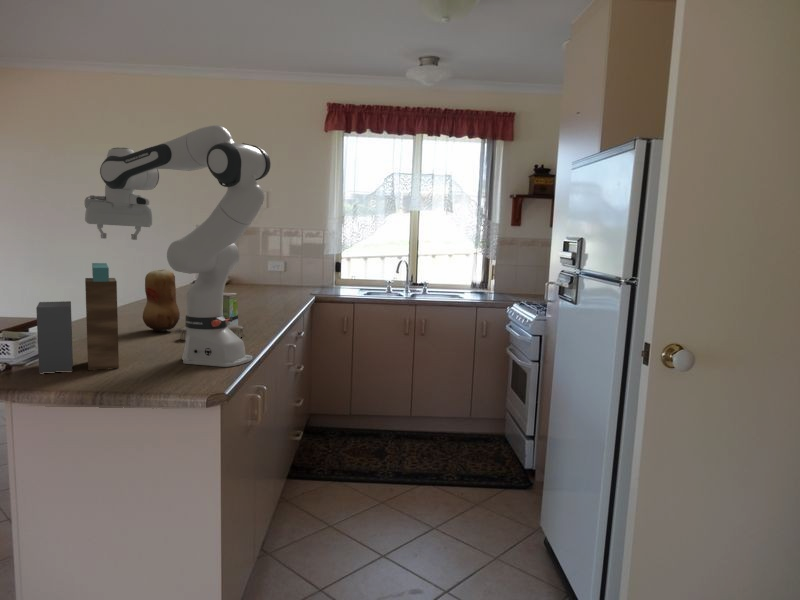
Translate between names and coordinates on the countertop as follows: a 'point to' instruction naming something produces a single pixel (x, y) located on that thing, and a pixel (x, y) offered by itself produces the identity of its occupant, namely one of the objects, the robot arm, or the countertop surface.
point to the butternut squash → (160, 301)
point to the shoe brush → (234, 328)
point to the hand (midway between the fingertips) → (119, 239)
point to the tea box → (230, 308)
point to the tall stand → (102, 324)
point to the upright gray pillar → (54, 336)
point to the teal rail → (100, 272)
